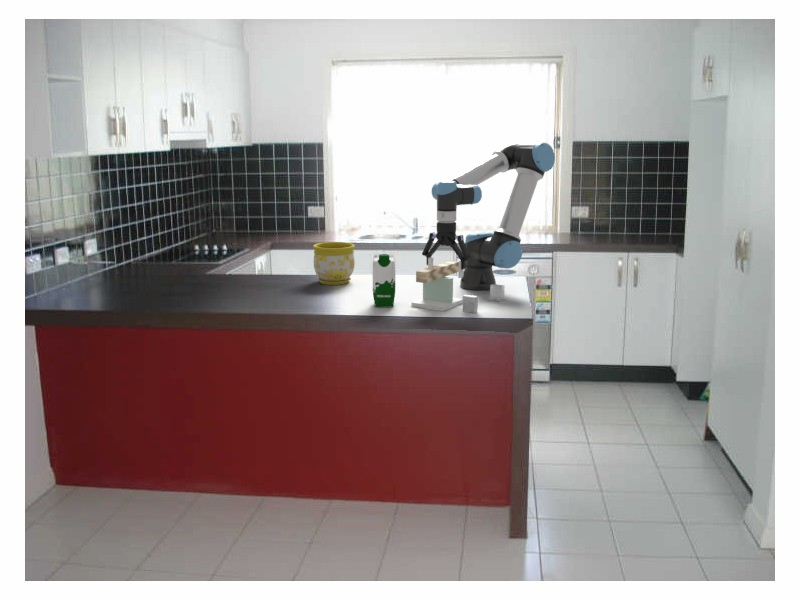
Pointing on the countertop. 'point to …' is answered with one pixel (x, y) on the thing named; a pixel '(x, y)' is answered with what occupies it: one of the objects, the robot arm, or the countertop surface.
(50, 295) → the countertop surface
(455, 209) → the robot arm
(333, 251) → the flowerpot
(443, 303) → the ridge stand
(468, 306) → the posts
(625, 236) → the countertop surface
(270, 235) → the countertop surface
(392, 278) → the milk carton
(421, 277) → the batten
